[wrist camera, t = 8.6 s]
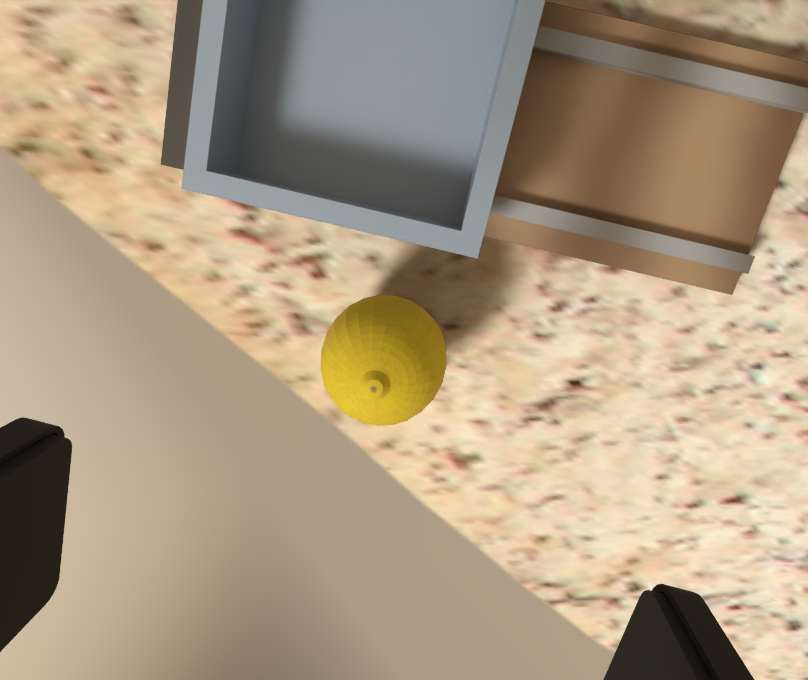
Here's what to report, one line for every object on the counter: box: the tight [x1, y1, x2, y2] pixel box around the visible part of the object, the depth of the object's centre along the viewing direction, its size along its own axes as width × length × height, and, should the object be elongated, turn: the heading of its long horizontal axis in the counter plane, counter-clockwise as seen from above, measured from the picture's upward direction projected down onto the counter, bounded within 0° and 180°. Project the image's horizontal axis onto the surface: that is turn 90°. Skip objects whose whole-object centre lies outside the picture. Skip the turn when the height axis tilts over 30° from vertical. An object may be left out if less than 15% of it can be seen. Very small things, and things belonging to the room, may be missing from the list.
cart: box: [181, 0, 545, 259], centre depth 21 cm, size 11×11×6 cm
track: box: [161, 0, 808, 295], centre depth 24 cm, size 26×10×4 cm, turn 77°
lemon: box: [321, 295, 447, 426], centre depth 25 cm, size 6×6×8 cm
